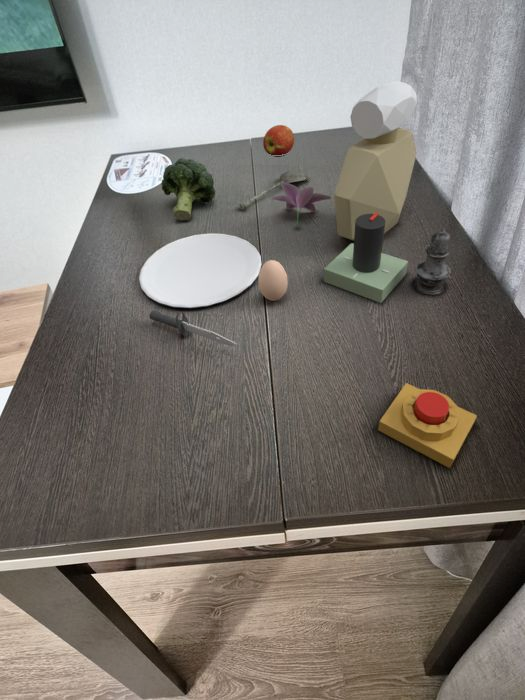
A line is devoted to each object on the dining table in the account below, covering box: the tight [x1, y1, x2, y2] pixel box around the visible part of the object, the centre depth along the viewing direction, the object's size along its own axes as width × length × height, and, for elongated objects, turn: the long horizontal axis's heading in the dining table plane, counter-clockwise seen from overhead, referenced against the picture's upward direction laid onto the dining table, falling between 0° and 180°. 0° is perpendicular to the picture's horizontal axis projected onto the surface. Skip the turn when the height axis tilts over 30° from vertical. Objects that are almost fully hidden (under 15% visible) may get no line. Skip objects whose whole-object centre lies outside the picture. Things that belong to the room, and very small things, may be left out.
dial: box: [352, 213, 385, 273], centre depth 78 cm, size 5×5×9 cm
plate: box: [138, 233, 263, 309], centre depth 89 cm, size 25×25×1 cm
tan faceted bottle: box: [333, 80, 418, 242], centre depth 84 cm, size 12×24×28 cm, turn 137°
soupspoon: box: [238, 170, 308, 211], centre depth 109 cm, size 22×3×7 cm
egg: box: [257, 259, 289, 302], centre depth 78 cm, size 5×5×8 cm
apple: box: [262, 124, 295, 158], centre depth 122 cm, size 8×8×8 cm
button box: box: [377, 382, 478, 469], centre depth 58 cm, size 10×8×4 cm
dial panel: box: [323, 242, 409, 304], centre depth 82 cm, size 12×10×3 cm
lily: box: [271, 181, 332, 229], centre depth 97 cm, size 12×12×10 cm
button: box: [414, 392, 449, 425], centre depth 56 cm, size 4×4×2 cm
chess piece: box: [413, 226, 452, 296], centre depth 76 cm, size 6×6×12 cm
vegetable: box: [161, 157, 216, 222], centre depth 105 cm, size 12×13×15 cm
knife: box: [148, 310, 239, 346], centre depth 74 cm, size 19×2×5 cm, turn 58°
